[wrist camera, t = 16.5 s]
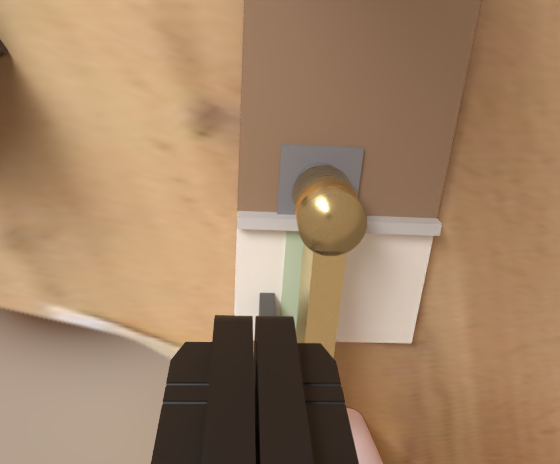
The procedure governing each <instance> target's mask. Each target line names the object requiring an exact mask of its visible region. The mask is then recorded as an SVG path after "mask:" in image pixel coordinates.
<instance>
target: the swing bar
mask: <svg viewBox="0 0 560 464" xmlns="http://www.w3.org/2000/svg"><path fill="white" fill-rule="evenodd" d="M292 200H293V205H294V210H295V215H296V220H297V225H298V230H299V234H300V237H301V239H302V241H303V251H302V263H301V275H300V287H299V299H298V311H297V323H296V337H297V343H321V344H322V345H323V347H324V348H325V349H326V350H327V351H328V353H329V354H330V355H331V356H332V357H333V359H334V352H335V344H336V335H337V327H338V319H339V311H340V303H341V295H342V287H343V278H344V270H345V262H346V254H347V252H349V251H351V250H352V249H353V248H355V247H356V246H357V245H358V244H359V243H360V242H361V240H362V239H363V237H364V235H365V232H366V228H367V217H366V213H365V211H364V209H363V207H362V205H361V203H360V201H359V199H358V197H357V195H356V193H355V191H354V189H353V187H352V185H351V183H350V181H349V179H348V177H347V176H346V175H345V174H344V173H343V172H342V171H341V170H340V169H338V168H336V167H333V166H329V165H317V166H313V167H311V168H309V169H307V170H305V171H304V172H303V173H301V174H300V175H299V177H298V178H297V179H296V181H295V183H294V185H293V189H292Z"/></svg>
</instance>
